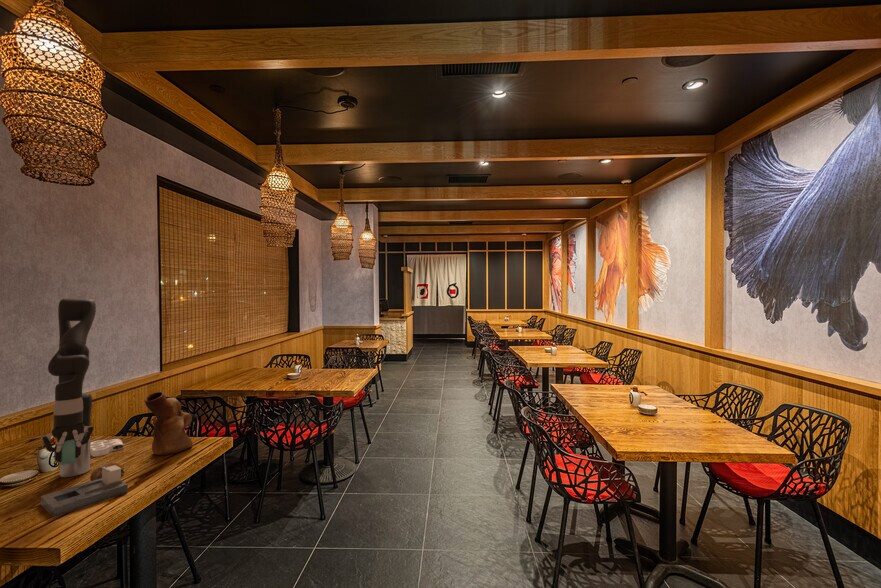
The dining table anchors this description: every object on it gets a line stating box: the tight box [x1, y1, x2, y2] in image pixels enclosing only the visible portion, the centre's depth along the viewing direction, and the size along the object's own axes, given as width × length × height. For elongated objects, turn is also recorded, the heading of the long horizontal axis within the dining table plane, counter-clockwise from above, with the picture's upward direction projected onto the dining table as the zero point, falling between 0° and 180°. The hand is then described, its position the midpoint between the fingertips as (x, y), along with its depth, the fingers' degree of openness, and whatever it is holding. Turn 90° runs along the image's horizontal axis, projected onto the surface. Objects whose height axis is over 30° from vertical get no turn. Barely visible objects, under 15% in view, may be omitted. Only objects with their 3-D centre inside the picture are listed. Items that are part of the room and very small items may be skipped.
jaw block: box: [102, 465, 122, 485], centre depth 145 cm, size 6×4×6 cm, turn 57°
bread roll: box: [89, 462, 125, 481], centre depth 156 cm, size 10×10×8 cm
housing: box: [40, 478, 129, 519], centre depth 139 cm, size 16×20×4 cm
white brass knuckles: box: [90, 438, 125, 458], centre depth 187 cm, size 3×18×15 cm
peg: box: [59, 439, 76, 466], centre depth 135 cm, size 4×4×8 cm
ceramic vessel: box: [143, 391, 194, 456], centre depth 183 cm, size 16×22×30 cm
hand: (67, 459), depth 135 cm, fingers closed on peg, 4 cm apart
